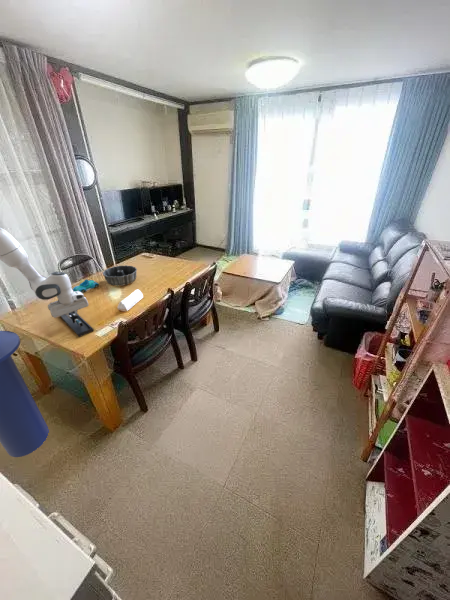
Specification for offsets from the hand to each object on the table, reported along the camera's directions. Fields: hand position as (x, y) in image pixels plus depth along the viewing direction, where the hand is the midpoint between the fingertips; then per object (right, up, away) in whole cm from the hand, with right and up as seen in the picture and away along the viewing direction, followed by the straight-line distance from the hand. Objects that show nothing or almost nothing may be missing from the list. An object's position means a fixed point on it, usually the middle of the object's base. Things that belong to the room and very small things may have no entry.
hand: (73, 317), depth 157 cm
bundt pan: (+8, +26, +56) cm, 62 cm away
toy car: (-16, +20, +44) cm, 51 cm away
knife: (0, -2, +1) cm, 2 cm away
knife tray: (0, -3, +2) cm, 4 cm away
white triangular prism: (+28, +8, +23) cm, 37 cm away
